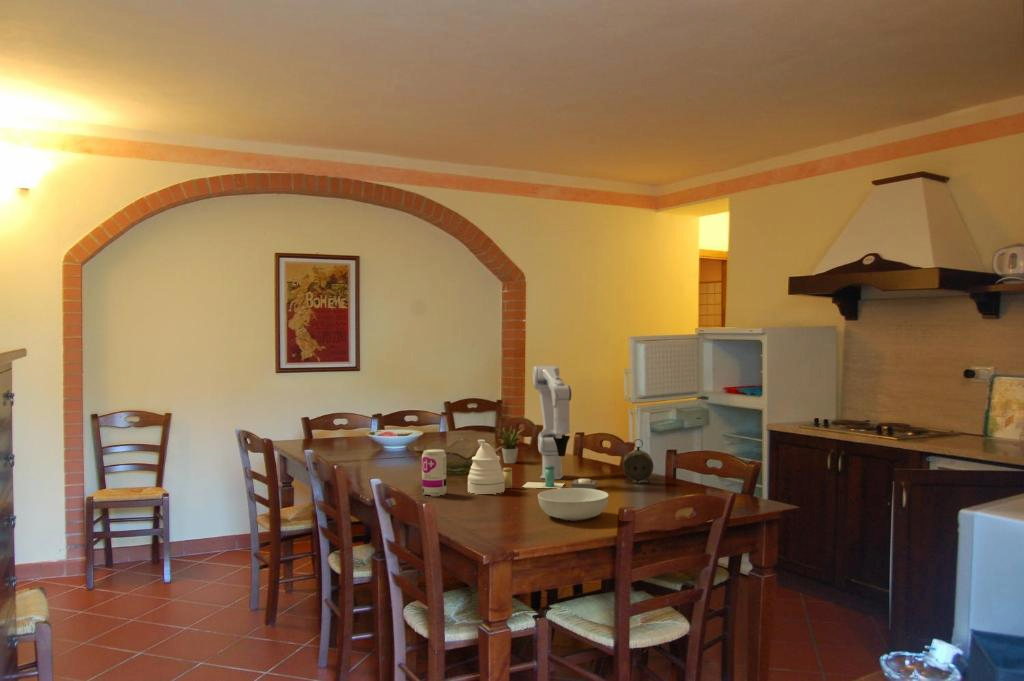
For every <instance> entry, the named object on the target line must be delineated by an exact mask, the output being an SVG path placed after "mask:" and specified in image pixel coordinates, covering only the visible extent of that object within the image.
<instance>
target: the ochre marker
mask: <svg viewBox="0 0 1024 681" xmlns="http://www.w3.org/2000/svg"><path fill="white" fill-rule="evenodd" d="M502 471H503V474H504V482H505V488H511V489H513V467H503V468H502Z"/></svg>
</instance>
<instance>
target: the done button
mask: <svg viewBox="0 0 1024 681" xmlns="http://www.w3.org/2000/svg"><path fill="white" fill-rule="evenodd" d="M577 480H578V483H591V480H592V479H591V478H578V479H577Z"/></svg>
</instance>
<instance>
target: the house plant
mask: <svg viewBox="0 0 1024 681" xmlns="http://www.w3.org/2000/svg"><path fill="white" fill-rule="evenodd" d="M512 427H513V425H511V427H510V429H509V431H507V430H506V428H505V427H504V426H503V428H502V430H500V429H499V428H496V427H495V429H496V430H497V431H499V432H495V433H498V434H499V436H501V438H499V439H498V441H499V442H500V444H502V445H503V446H504V447H502V448H501V451H502V457H503V458H502V459H503V463H504V464H516V463H517V460H518V459H517V458H518V453H519V448H518V447H517V446H516V445H518V444H519V443H520V442H521V438H518V435H519V434H521V432H522V431H523V430H524V428H522V429H521V430H518V431H516V432H515V429H512ZM511 434H512V435H511Z"/></svg>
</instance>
